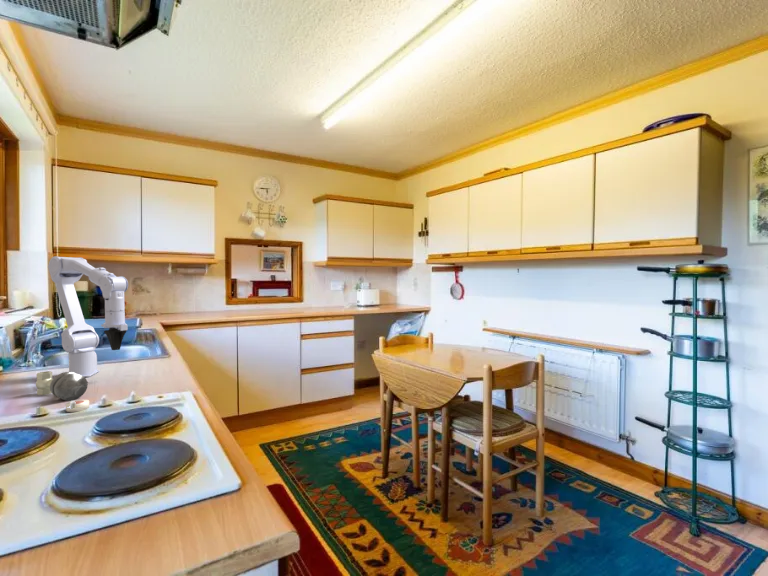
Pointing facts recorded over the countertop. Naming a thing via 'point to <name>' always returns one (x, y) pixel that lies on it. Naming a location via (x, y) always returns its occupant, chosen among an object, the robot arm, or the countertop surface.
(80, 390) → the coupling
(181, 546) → the countertop surface
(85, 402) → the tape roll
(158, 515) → the countertop surface
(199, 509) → the countertop surface
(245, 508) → the countertop surface
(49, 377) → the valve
